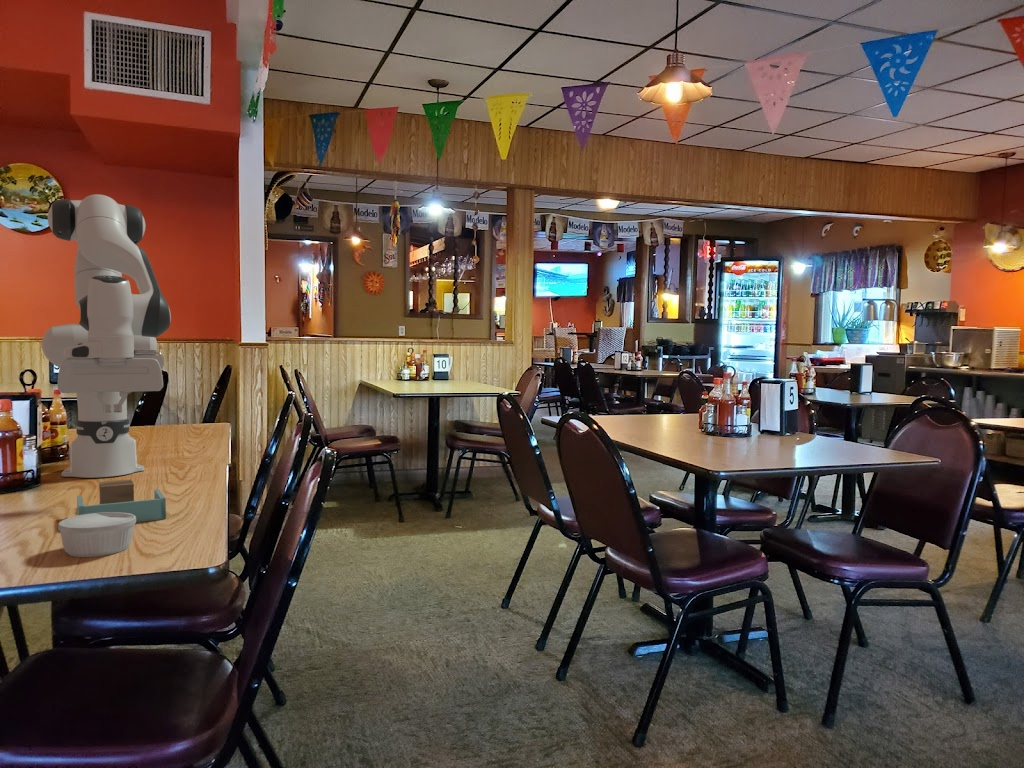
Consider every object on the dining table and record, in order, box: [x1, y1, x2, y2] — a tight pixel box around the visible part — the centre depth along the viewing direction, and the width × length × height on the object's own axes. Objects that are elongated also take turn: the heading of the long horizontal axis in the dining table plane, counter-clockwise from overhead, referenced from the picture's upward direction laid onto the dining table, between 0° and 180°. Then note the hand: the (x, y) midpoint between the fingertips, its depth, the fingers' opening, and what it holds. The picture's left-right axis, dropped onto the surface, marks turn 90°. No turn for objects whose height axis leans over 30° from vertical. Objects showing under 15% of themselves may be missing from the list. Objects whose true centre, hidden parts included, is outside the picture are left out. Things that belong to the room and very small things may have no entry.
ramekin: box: [57, 512, 137, 558], centre depth 119 cm, size 11×11×5 cm
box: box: [76, 488, 167, 523], centre depth 140 cm, size 11×15×4 cm
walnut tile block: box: [98, 479, 135, 504], centre depth 150 cm, size 6×6×5 cm
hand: (112, 412), depth 156 cm, fingers closed
